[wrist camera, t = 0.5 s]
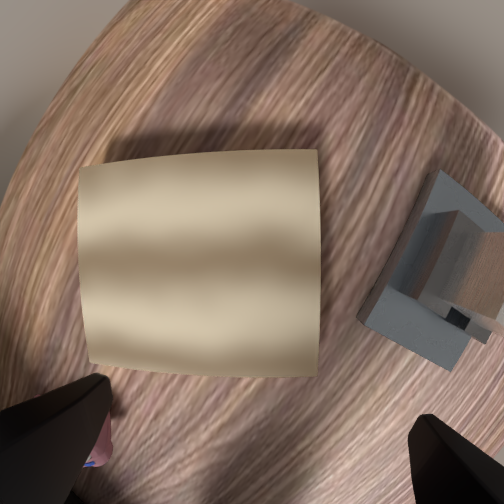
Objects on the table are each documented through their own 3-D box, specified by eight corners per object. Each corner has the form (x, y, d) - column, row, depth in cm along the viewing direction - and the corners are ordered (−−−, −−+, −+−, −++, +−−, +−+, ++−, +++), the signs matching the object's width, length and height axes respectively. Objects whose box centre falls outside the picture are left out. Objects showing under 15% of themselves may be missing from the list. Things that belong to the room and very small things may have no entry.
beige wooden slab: (312, 359, 21) (317, 376, 18) (108, 350, 22) (89, 362, 19) (311, 161, 21) (317, 149, 18) (100, 174, 22) (79, 167, 19)
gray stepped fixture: (460, 374, 20) (511, 414, 12) (356, 317, 21) (396, 357, 13) (518, 252, 20) (580, 257, 12) (427, 174, 20) (489, 149, 12)
